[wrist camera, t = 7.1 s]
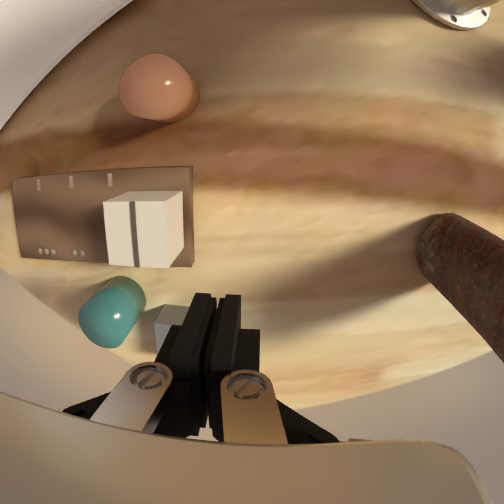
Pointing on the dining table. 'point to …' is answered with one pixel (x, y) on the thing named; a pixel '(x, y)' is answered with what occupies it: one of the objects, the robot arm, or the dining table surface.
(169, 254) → the slider
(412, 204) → the dining table surface
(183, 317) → the slate box
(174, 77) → the peach domed cylinder
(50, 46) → the plate
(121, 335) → the teal rounded cylinder
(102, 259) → the rail
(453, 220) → the candle
